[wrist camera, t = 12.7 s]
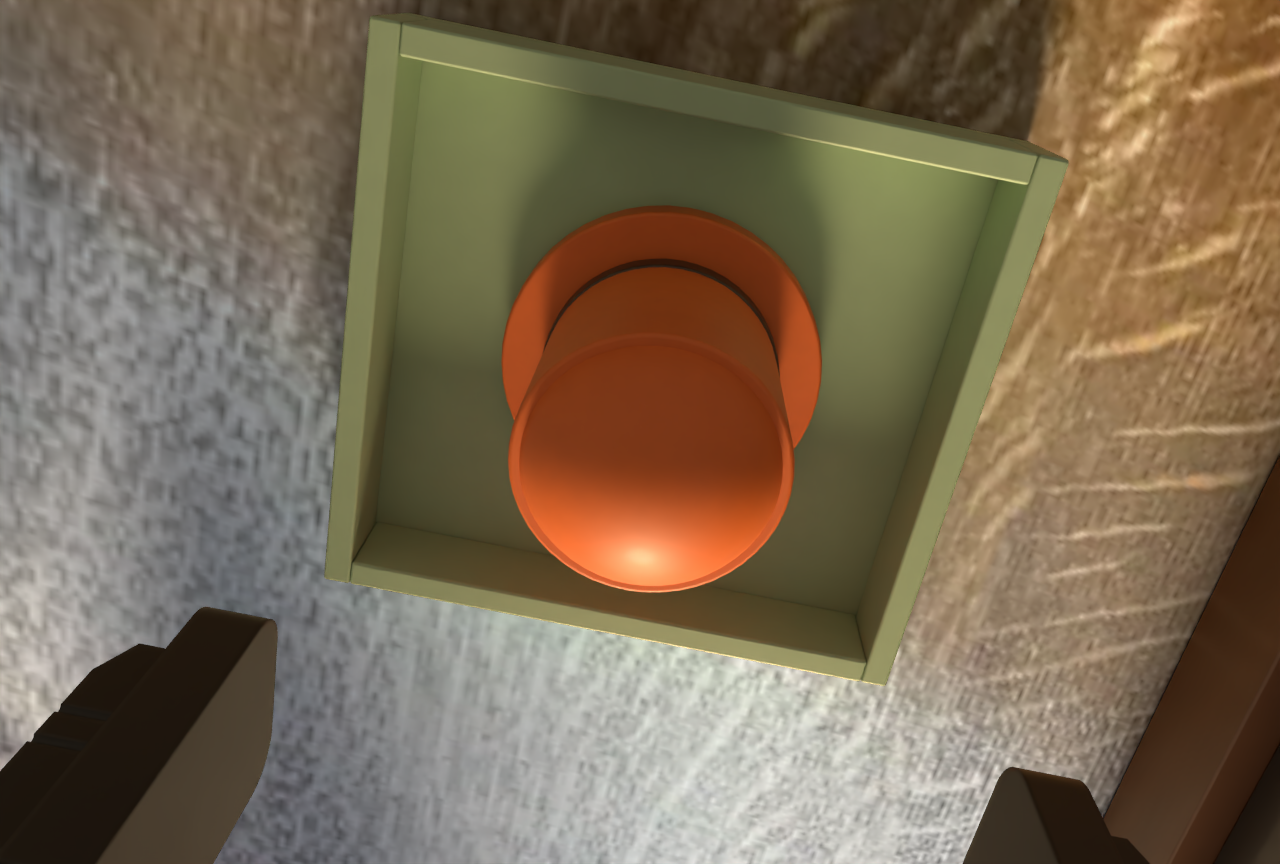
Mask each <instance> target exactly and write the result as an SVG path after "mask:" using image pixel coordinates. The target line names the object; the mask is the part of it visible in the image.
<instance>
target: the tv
mask: <svg viewBox="0 0 1280 864" xmlns="http://www.w3.org/2000/svg"><path fill="white" fill-rule="evenodd" d="M1103 820H1104V822H1105V824H1106V826H1107V828H1108V830H1109V832H1110V835H1111V836H1115V837H1120V838H1125V839H1128V840H1129V841H1130V842H1131V843H1132V844H1133V845H1134V847H1135V848H1136V849H1137V850H1138V851H1139V852H1140V853H1141V854H1142V855H1143V856H1144V857H1145V859H1146V860H1147V861H1148V862H1149V863H1150V864H1280V456H1279V458H1278V460H1277V462H1276V464H1275V466H1274V468H1273V470H1272V472H1271V474H1270V476H1269V478H1268V480H1267V483H1266V485H1265V487H1264V489H1263V491H1262V493H1261V495H1260V497H1259V499H1258V501H1257V503H1256V505H1255V507H1254V509H1253V511H1252V513H1251V516H1250V518H1249V520H1248V522H1247V524H1246V526H1245V528H1244V530H1243V532H1242V534H1241V536H1240V538H1239V540H1238V542H1237V544H1236V546H1235V549H1234V551H1233V553H1232V555H1231V557H1230V559H1229V561H1228V563H1227V565H1226V567H1225V569H1224V571H1223V573H1222V575H1221V577H1220V579H1219V582H1218V584H1217V586H1216V588H1215V590H1214V592H1213V594H1212V596H1211V598H1210V600H1209V602H1208V604H1207V606H1206V608H1205V610H1204V613H1203V615H1202V617H1201V619H1200V621H1199V623H1198V625H1197V627H1196V629H1195V631H1194V633H1193V635H1192V637H1191V639H1190V641H1189V643H1188V646H1187V648H1186V650H1185V652H1184V654H1183V656H1182V658H1181V660H1180V662H1179V664H1178V666H1177V668H1176V670H1175V672H1174V674H1173V676H1172V679H1171V681H1170V683H1169V685H1168V687H1167V689H1166V691H1165V693H1164V695H1163V697H1162V699H1161V701H1160V703H1159V705H1158V707H1157V709H1156V712H1155V714H1154V716H1153V718H1152V720H1151V722H1150V724H1149V726H1148V728H1147V730H1146V732H1145V734H1144V736H1143V738H1142V740H1141V742H1140V745H1139V747H1138V749H1137V751H1136V753H1135V755H1134V757H1133V759H1132V761H1131V763H1130V765H1129V767H1128V769H1127V771H1126V773H1125V775H1124V778H1123V780H1122V782H1121V784H1120V786H1119V788H1118V790H1117V792H1116V794H1115V796H1114V798H1113V800H1112V802H1111V804H1110V806H1109V808H1108V811H1107V813H1106V815H1105V817H1104V819H1103Z"/></svg>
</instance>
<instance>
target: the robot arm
mask: <svg viewBox="0 0 1280 864" xmlns="http://www.w3.org/2000/svg"><path fill="white" fill-rule="evenodd" d="M277 639H278V632H277V625H276V623H275V621H274V620H272V619H267V618H262V617H257V616H252V615H247V614H242V613H237V612H231V611H226V610H221V609H216V608H211V607H202V608H200V609H199V610H198V611H197V612H196V613H195V614H194V615H193V616H192V617H191V619H190V620H189V621H188V622H187V623H186V625H185V626H184V627H183V628H182V629H181V631H180V632H179V633H178V634H177V636H176V637H175V638H174V639H173V640H172V642H171V643H170V644H169V645H168V646H167V648H166V649H165V648H160V647H155V646H149V645H144V644H138V645H136V646H134V647H132V648H130V649H129V650H127V651H125V652H123V653H121V654H120V655H118V656H116V657H114V658H112V659H111V660H109V661H107V662H105V663H103V664H102V665H100V666H98V667H96V668H94V669H93V670H92V671H91V672H90V673H89V674H88V675H87V676H86V677H85V678H84V679H83V681H82V682H81V683H80V684H79V685H78V686H77V687H76V688H75V689H74V690H73V692H72V693H71V694H70V695H69V696H68V697H67V698H66V699H65V700H64V701H63V703H62V704H61V707H60V710H59V711H58V712H54V713H53V714H52V715H51V716H50V717H49V718H48V719H47V720H46V721H45V722H44V724H43V725H42V726H41V727H40V728H39V729H38V730H37V731H36V732H35V733H34V738H33V740H32V741H31V742H28V741H27V742H26V743H25V744H24V746H23V747H22V748H21V749H20V750H19V751H18V752H17V753H16V754H15V755H14V757H13V758H12V759H11V760H10V761H9V762H8V763H7V764H6V765H5V766H4V768H3V769H2V770H1V771H0V864H213V863H214V861H215V859H216V858H217V856H218V854H219V852H220V851H221V849H222V847H223V845H224V843H225V842H226V840H227V838H228V836H229V835H230V833H231V831H232V829H233V828H234V826H235V824H236V822H237V821H238V819H239V817H240V815H241V814H242V812H243V810H244V808H245V807H246V805H247V803H248V801H249V799H250V798H251V796H252V794H253V792H254V790H255V788H256V786H257V784H258V782H259V779H260V777H261V774H262V771H263V768H264V765H265V762H266V759H267V755H268V751H269V746H270V741H271V734H272V721H273V705H274V689H275V672H276V656H277ZM963 864H1150V863H1149V862H1148V861H1147V860H1146V859H1145V857H1144V856H1143V855H1142V854H1141V853H1140V852H1139V851H1138V850H1137V849H1136V848H1135V847H1134V845H1133V844H1132V843H1131V842H1130V841H1129V840H1128V839H1125V838H1120V837H1115V836H1111V835H1110V832H1109V830H1108V828H1107V826H1106V824H1105V822H1104V820H1103V818H1102V816H1101V813H1100V811H1099V809H1098V807H1097V805H1096V803H1095V801H1094V799H1093V797H1092V795H1091V793H1090V791H1089V789H1088V787H1087V786H1086V785H1085V784H1084V783H1083V782H1082V781H1080V780H1076V779H1071V778H1066V777H1061V776H1056V775H1051V774H1046V773H1041V772H1036V771H1031V770H1025V769H1020V768H1015V767H1010V768H1008V769H1006V770H1005V771H1004V772H1003V773H1002V774H1001V776H1000V777H999V779H998V782H997V784H996V786H995V788H994V791H993V793H992V795H991V798H990V800H989V803H988V805H987V807H986V810H985V812H984V814H983V817H982V819H981V821H980V824H979V826H978V829H977V831H976V833H975V836H974V838H973V840H972V843H971V845H970V847H969V850H968V852H967V855H966V857H965V859H964V862H963Z"/></svg>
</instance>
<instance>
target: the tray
mask: <svg viewBox="0 0 1280 864" xmlns="http://www.w3.org/2000/svg"><path fill="white" fill-rule="evenodd" d="M1067 167H1068V160H1067V159H1065V158H1063V157H1061V156H1058V155H1056V154H1054V153H1052V152H1050V151H1048V150H1045V149H1043V148H1041V147H1039V146H1037V145H1035V144H1033V143H1030V142H1028V141H1024V140H1019V139H1014V138H1010V137H1005V136H1000V135H995V134H990V133H985V132H981V131H976V130H971V129H966V128H961V127H956V126H952V125H947V124H942V123H937V122H932V121H928V120H923V119H918V118H913V117H908V116H903V115H899V114H894V113H889V112H884V111H879V110H875V109H870V108H865V107H860V106H855V105H850V104H846V103H841V102H836V101H831V100H826V99H821V98H817V97H812V96H807V95H802V94H797V93H793V92H788V91H783V90H778V89H773V88H768V87H764V86H759V85H754V84H749V83H744V82H739V81H735V80H730V79H725V78H720V77H715V76H711V75H706V74H701V73H696V72H691V71H686V70H682V69H677V68H672V67H667V66H662V65H658V64H653V63H648V62H643V61H638V60H633V59H629V58H624V57H619V56H614V55H609V54H604V53H600V52H595V51H590V50H585V49H580V48H576V47H571V46H566V45H561V44H556V43H551V42H547V41H542V40H537V39H532V38H527V37H522V36H518V35H513V34H508V33H503V32H498V31H494V30H489V29H484V28H479V27H474V26H469V25H465V24H460V23H455V22H450V21H445V20H441V19H436V18H431V17H426V16H421V15H416V14H412V13H402V14H401V13H399V14H387V15H375V16H371V17H370V19H369V30H368V43H367V55H366V67H365V80H364V92H363V104H362V117H361V129H360V141H359V154H358V166H357V178H356V191H355V203H354V215H353V228H352V240H351V252H350V265H349V277H348V290H347V302H346V314H345V327H344V339H343V351H342V364H341V376H340V388H339V401H338V413H337V425H336V438H335V450H334V462H333V475H332V487H331V499H330V512H329V524H328V536H327V549H326V561H325V574H324V577H325V578H326V579H330V580H335V581H340V582H345V583H348V582H350V581H351V583H352V584H356V585H361V586H367V587H372V588H377V589H382V590H387V591H393V592H398V593H403V594H408V595H413V596H419V597H424V598H429V599H434V600H439V601H445V602H450V603H455V604H460V605H465V606H470V607H476V608H481V609H486V610H491V611H496V612H502V613H507V614H512V615H517V616H522V617H528V618H533V619H538V620H543V621H548V622H554V623H559V624H564V625H569V626H574V627H579V628H585V629H590V630H595V631H600V632H605V633H611V634H616V635H621V636H626V637H631V638H637V639H642V640H647V641H652V642H657V643H663V644H668V645H673V646H678V647H683V648H688V649H694V650H699V651H704V652H709V653H714V654H720V655H725V656H730V657H735V658H740V659H746V660H751V661H756V662H761V663H766V664H772V665H777V666H782V667H787V668H792V669H797V670H803V671H808V672H813V673H818V674H823V675H829V676H834V677H839V678H844V679H849V680H855V681H860V680H861V681H862V682H865V683H870V684H875V685H881V686H885V685H886V683H887V680H888V677H889V674H890V671H891V668H892V665H893V663H894V660H895V657H896V654H897V651H898V648H899V646H900V643H901V640H902V637H903V634H904V631H905V628H906V626H907V623H908V620H909V617H910V614H911V611H912V608H913V606H914V603H915V600H916V597H917V594H918V591H919V589H920V586H921V583H922V580H923V577H924V574H925V571H926V569H927V566H928V563H929V560H930V557H931V554H932V551H933V549H934V546H935V543H936V540H937V537H938V534H939V532H940V529H941V526H942V523H943V520H944V517H945V514H946V512H947V509H948V506H949V503H950V500H951V497H952V494H953V492H954V489H955V486H956V483H957V480H958V477H959V475H960V472H961V469H962V466H963V463H964V460H965V457H966V455H967V452H968V449H969V446H970V443H971V440H972V437H973V435H974V432H975V429H976V426H977V423H978V420H979V418H980V415H981V412H982V409H983V406H984V403H985V400H986V398H987V395H988V392H989V389H990V386H991V383H992V380H993V378H994V375H995V372H996V369H997V366H998V363H999V361H1000V358H1001V355H1002V352H1003V349H1004V346H1005V343H1006V341H1007V338H1008V335H1009V332H1010V329H1011V326H1012V324H1013V321H1014V318H1015V315H1016V312H1017V309H1018V306H1019V304H1020V301H1021V298H1022V295H1023V292H1024V289H1025V286H1026V284H1027V281H1028V278H1029V275H1030V272H1031V269H1032V267H1033V264H1034V261H1035V258H1036V255H1037V252H1038V249H1039V247H1040V244H1041V241H1042V238H1043V235H1044V232H1045V229H1046V227H1047V224H1048V221H1049V218H1050V215H1051V212H1052V210H1053V207H1054V204H1055V201H1056V198H1057V195H1058V192H1059V190H1060V187H1061V184H1062V181H1063V178H1064V175H1065V172H1066V170H1067ZM662 205H671V206H679V207H687V208H693V209H697V210H701V211H705V212H709V213H713V214H715V215H718V216H720V217H723V218H725V219H728V220H730V221H733V222H734V223H736V224H738V225H740V226H741V227H743V228H745V229H747V230H748V231H750V232H752V233H753V234H754V235H756V236H757V237H758V238H760V239H761V240H762V241H764V242H765V243H766V244H768V245H769V246H770V247H771V248H772V249H773V250H774V251H775V252H776V253H777V254H778V255H779V256H780V257H781V258H782V259H783V261H784V262H785V263H786V265H787V266H788V267H789V268H790V270H791V271H792V272H793V274H794V275H795V277H796V278H797V280H798V282H799V284H800V285H801V287H802V289H803V291H804V293H805V294H806V297H807V300H808V302H809V305H810V307H811V310H812V312H813V315H814V318H815V321H816V325H817V329H818V334H819V338H820V344H821V354H822V374H821V385H820V390H819V395H818V400H817V403H816V406H815V409H814V412H813V415H812V418H811V421H810V423H809V425H808V427H807V429H806V431H805V433H804V435H803V437H802V438H801V440H800V441H799V443H798V444H797V446H796V447H795V449H794V458H795V467H794V481H793V486H792V492H791V496H790V499H789V502H788V505H787V508H786V510H785V512H784V514H783V516H782V518H781V520H780V522H779V524H778V526H777V527H776V529H775V530H774V532H773V533H772V535H771V536H770V538H769V539H768V540H767V541H766V542H765V544H764V545H763V546H762V547H761V548H760V549H759V550H758V551H757V552H756V553H755V554H754V555H753V556H752V557H750V558H749V559H748V560H747V561H746V562H745V563H743V564H742V565H741V566H739V567H737V568H736V569H734V570H733V571H731V572H730V573H728V574H726V575H724V576H722V577H720V578H718V579H716V580H714V581H711V582H709V583H706V584H703V585H700V586H697V587H693V588H689V589H684V590H680V591H671V592H637V591H629V590H624V589H619V588H615V587H611V586H608V585H605V584H602V583H599V582H597V581H594V580H592V579H590V578H588V577H585V576H583V575H581V574H579V573H577V572H576V571H574V570H573V569H571V568H570V567H568V566H567V565H565V564H564V563H562V562H561V561H560V560H559V559H557V558H556V557H555V556H554V555H553V554H551V553H550V552H549V551H548V550H547V549H546V548H545V547H544V545H543V544H542V543H541V542H540V541H539V540H538V539H537V538H536V536H535V535H534V533H533V532H532V531H531V529H530V528H529V526H528V525H527V523H526V522H525V520H524V518H523V516H522V514H521V512H520V510H519V508H518V505H517V503H516V500H515V498H514V495H513V491H512V487H511V482H510V478H509V468H508V450H509V441H510V436H511V431H512V426H513V424H514V419H513V416H512V413H511V411H510V408H509V405H508V402H507V399H506V394H505V389H504V385H503V377H502V365H501V360H502V343H503V338H504V333H505V328H506V323H507V320H508V317H509V314H510V311H511V309H512V306H513V303H514V301H515V299H516V298H517V296H518V294H519V292H520V290H521V288H522V286H523V284H524V283H525V281H526V279H527V278H528V276H529V275H530V273H531V272H532V271H533V269H534V268H535V266H536V265H537V264H538V262H539V261H540V260H541V259H542V258H543V257H544V256H545V255H546V254H547V252H548V251H549V250H550V249H551V248H552V247H553V246H555V245H556V244H557V243H558V242H559V241H561V240H562V239H563V238H564V237H566V236H567V235H568V234H570V233H571V232H573V231H575V230H576V229H578V228H579V227H581V226H583V225H584V224H586V223H588V222H590V221H593V220H595V219H597V218H600V217H602V216H604V215H607V214H610V213H614V212H617V211H621V210H624V209H629V208H636V207H643V206H662Z"/></svg>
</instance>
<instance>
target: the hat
mask: <svg viewBox="0 0 1280 864" xmlns="http://www.w3.org/2000/svg"><path fill="white" fill-rule="evenodd" d="M501 365H502V377H503V385H504V389H505V394H506V399H507V402H508V405H509V408H510V411H511V413H512V416H513V419H514V424H513V426H512V431H511V436H510V441H509V450H508V468H509V478H510V482H511V487H512V491H513V495H514V498H515V500H516V503H517V505H518V508H519V510H520V512H521V514H522V516H523V518H524V520H525V522H526V523H527V525H528V526H529V528H530V529H531V531H532V532H533V533H534V535H535V536H536V538H537V539H538V540H539V541H540V542H541V543H542V544H543V545H544V547H545V548H546V549H547V550H548V551H549V552H550V553H551V554H553V555H554V556H555V557H556V558H557V559H559V560H560V561H561V562H562V563H564V564H565V565H567V566H568V567H570V568H571V569H573V570H574V571H576V572H577V573H579V574H581V575H583V576H585V577H588V578H590V579H592V580H594V581H597V582H599V583H602V584H605V585H608V586H611V587H615V588H619V589H624V590H629V591H637V592H671V591H680V590H684V589H689V588H693V587H697V586H700V585H703V584H706V583H709V582H711V581H714V580H716V579H718V578H720V577H722V576H724V575H726V574H728V573H730V572H731V571H733V570H734V569H736V568H737V567H739V566H741V565H742V564H743V563H745V562H746V561H747V560H748V559H749V558H750V557H752V556H753V555H754V554H755V553H756V552H757V551H758V550H759V549H760V548H761V547H762V546H763V545H764V544H765V542H766V541H767V540H768V539H769V538H770V536H771V535H772V533H773V532H774V530H775V529H776V527H777V526H778V524H779V522H780V520H781V518H782V516H783V514H784V512H785V510H786V508H787V505H788V502H789V499H790V496H791V492H792V486H793V481H794V467H795V458H794V449H795V447H796V446H797V444H798V443H799V441H800V440H801V438H802V437H803V435H804V433H805V431H806V429H807V427H808V425H809V423H810V421H811V418H812V415H813V412H814V409H815V406H816V403H817V400H818V395H819V390H820V385H821V374H822V354H821V344H820V338H819V334H818V329H817V325H816V321H815V318H814V315H813V312H812V310H811V307H810V305H809V302H808V300H807V297H806V294H805V293H804V291H803V289H802V287H801V285H800V284H799V282H798V280H797V278H796V277H795V275H794V274H793V272H792V271H791V270H790V268H789V267H788V266H787V265H786V263H785V262H784V261H783V259H782V258H781V257H780V256H779V255H778V254H777V253H776V252H775V251H774V250H773V249H772V248H771V247H770V246H769V245H768V244H766V243H765V242H764V241H762V240H761V239H760V238H758V237H757V236H756V235H754V234H753V233H752V232H750V231H748V230H747V229H745V228H743V227H741V226H740V225H738V224H736V223H734V222H733V221H730V220H728V219H725V218H723V217H720V216H718V215H715V214H713V213H709V212H705V211H701V210H697V209H693V208H687V207H679V206H671V205H662V206H643V207H636V208H629V209H624V210H621V211H617V212H614V213H610V214H607V215H604V216H602V217H600V218H597V219H595V220H593V221H590V222H588V223H586V224H584V225H583V226H581V227H579V228H578V229H576V230H575V231H573V232H571V233H570V234H568V235H567V236H566V237H564V238H563V239H562V240H561V241H559V242H558V243H557V244H556V245H555V246H553V247H552V248H551V249H550V250H549V251H548V252H547V254H546V255H545V256H544V257H543V258H542V259H541V260H540V261H539V262H538V264H537V265H536V266H535V268H534V269H533V271H532V272H531V273H530V275H529V276H528V278H527V279H526V281H525V283H524V284H523V286H522V288H521V290H520V292H519V294H518V296H517V298H516V299H515V301H514V303H513V306H512V309H511V311H510V314H509V317H508V320H507V323H506V328H505V333H504V338H503V343H502V360H501Z"/></svg>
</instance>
